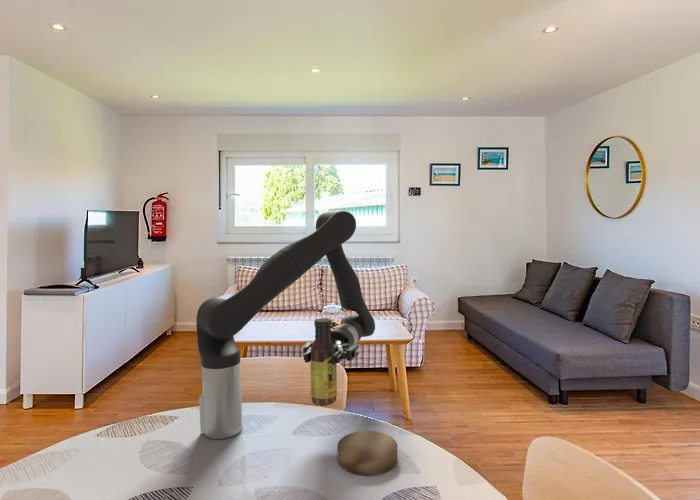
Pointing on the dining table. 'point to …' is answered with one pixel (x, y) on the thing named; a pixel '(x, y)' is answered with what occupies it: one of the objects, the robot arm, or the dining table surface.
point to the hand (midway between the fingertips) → (319, 359)
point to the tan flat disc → (367, 453)
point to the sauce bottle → (323, 365)
